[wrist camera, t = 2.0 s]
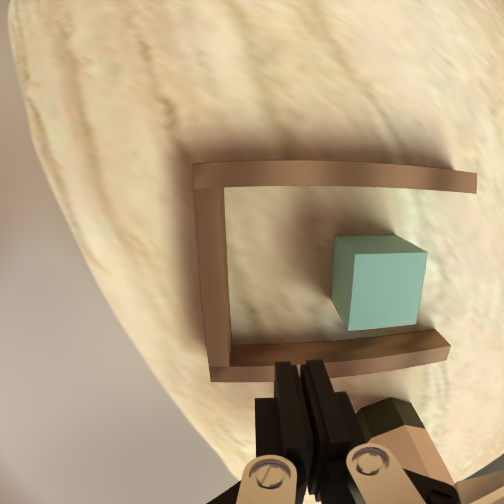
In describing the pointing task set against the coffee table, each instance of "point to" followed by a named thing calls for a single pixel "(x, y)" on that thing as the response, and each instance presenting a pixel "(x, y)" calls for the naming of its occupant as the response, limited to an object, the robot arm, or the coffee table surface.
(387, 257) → the teal block
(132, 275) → the coffee table surface
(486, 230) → the coffee table surface
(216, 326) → the frame
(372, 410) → the wine bottle
